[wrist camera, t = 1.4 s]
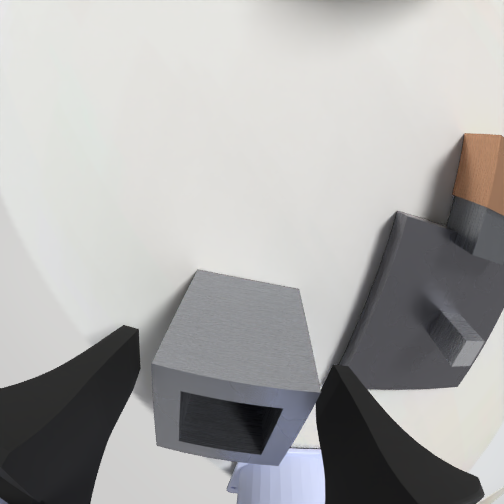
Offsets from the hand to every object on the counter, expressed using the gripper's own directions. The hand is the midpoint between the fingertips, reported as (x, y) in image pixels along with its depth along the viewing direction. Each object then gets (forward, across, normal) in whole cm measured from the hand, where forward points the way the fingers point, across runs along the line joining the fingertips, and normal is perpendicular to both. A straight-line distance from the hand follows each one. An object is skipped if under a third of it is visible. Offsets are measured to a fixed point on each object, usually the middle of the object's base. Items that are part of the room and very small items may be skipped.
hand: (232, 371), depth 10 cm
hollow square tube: (+3, 0, 0) cm, 3 cm away
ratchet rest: (+3, -10, -4) cm, 11 cm away
